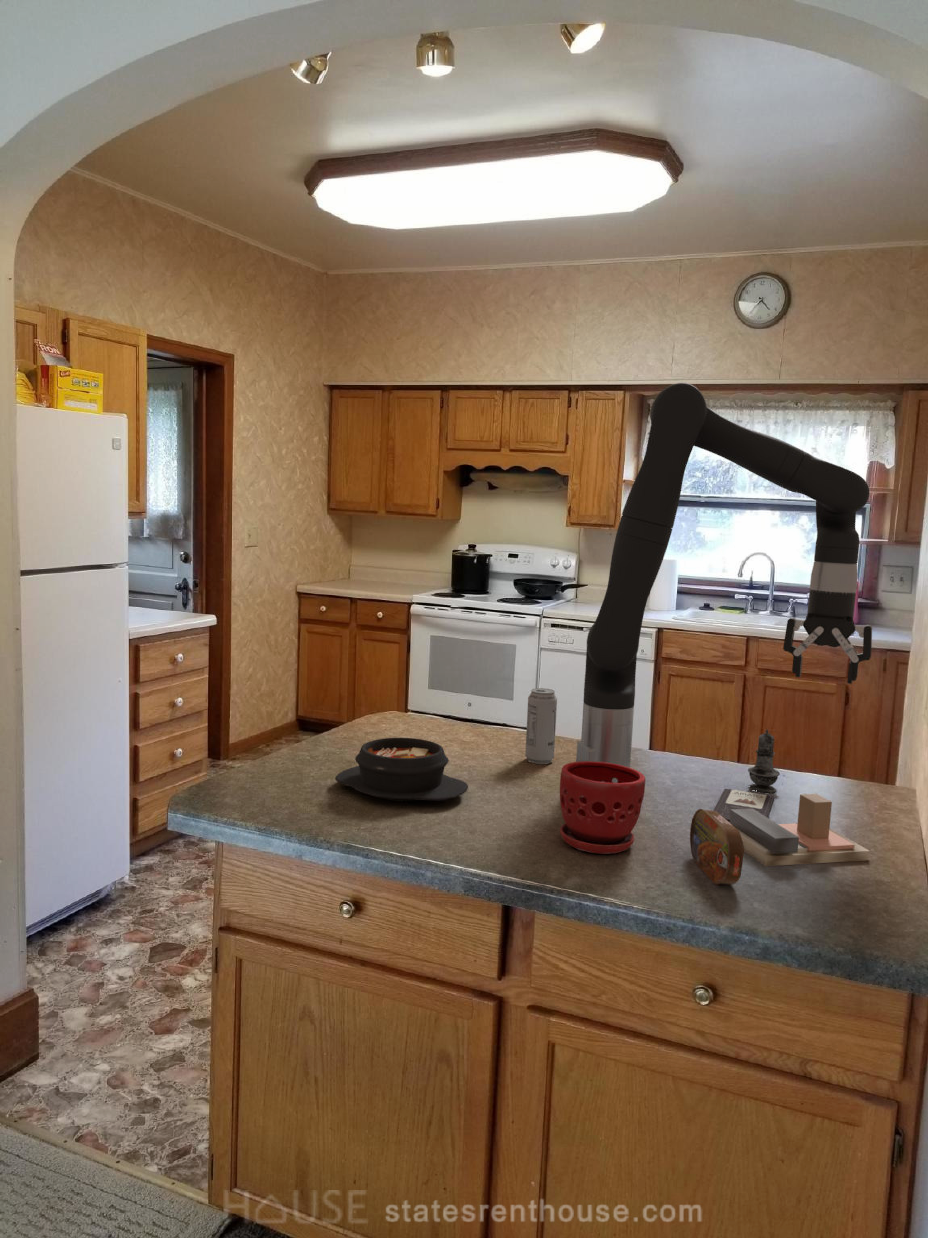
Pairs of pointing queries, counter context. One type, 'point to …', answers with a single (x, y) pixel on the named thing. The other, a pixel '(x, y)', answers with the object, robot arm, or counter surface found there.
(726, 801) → the chocolate bar
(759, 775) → the stone finial
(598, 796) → the plant pot
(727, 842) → the tin
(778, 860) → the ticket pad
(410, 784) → the casserole
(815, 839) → the tan block on plate
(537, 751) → the energy drink can
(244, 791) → the counter surface
